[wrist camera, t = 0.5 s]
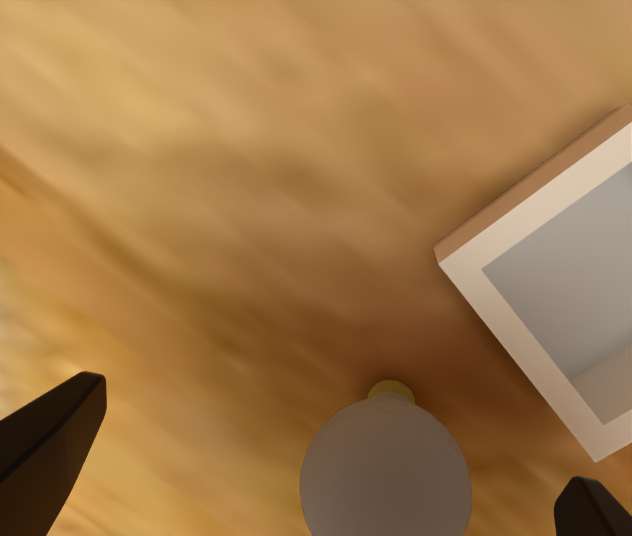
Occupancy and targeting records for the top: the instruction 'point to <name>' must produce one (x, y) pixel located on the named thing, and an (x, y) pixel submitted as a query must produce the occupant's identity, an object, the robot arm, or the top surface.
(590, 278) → the white hollow square box
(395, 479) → the light bulb
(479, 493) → the top surface
